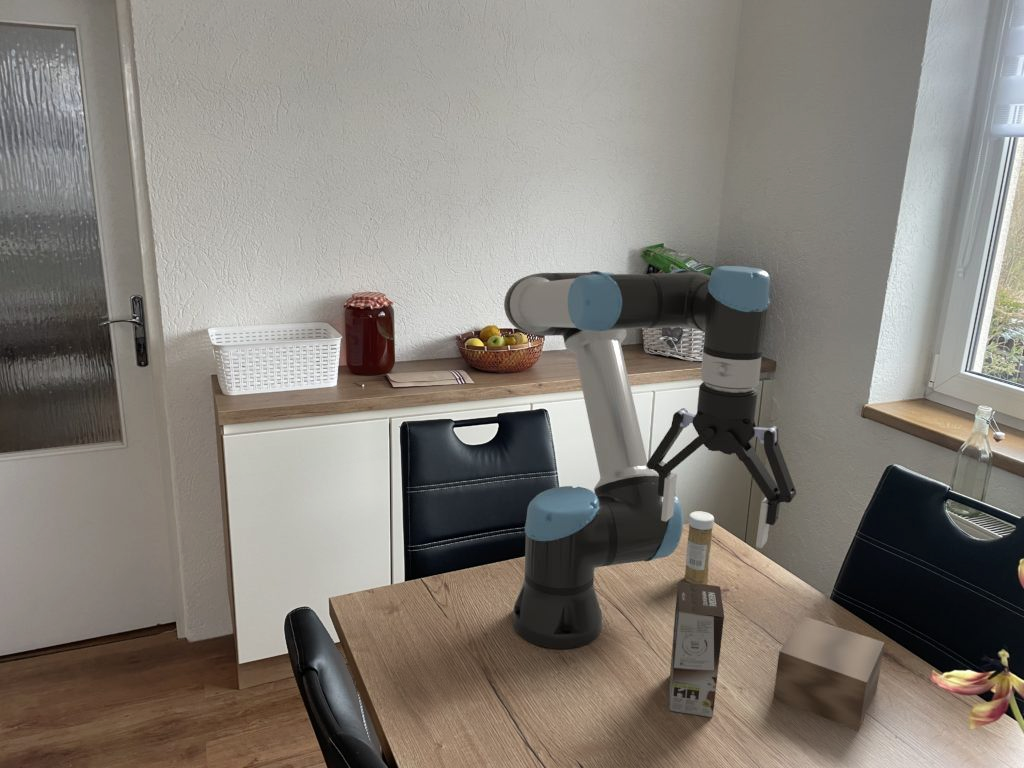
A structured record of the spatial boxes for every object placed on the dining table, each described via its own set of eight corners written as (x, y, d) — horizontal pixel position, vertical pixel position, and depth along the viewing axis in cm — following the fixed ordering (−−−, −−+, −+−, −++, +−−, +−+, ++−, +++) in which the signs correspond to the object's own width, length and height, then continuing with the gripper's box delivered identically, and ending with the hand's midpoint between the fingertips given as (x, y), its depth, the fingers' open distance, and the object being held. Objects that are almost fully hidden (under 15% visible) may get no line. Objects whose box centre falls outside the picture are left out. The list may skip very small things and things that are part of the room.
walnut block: (773, 698, 117) (779, 651, 115) (796, 660, 126) (802, 615, 124) (858, 732, 110) (866, 682, 108) (876, 688, 119) (884, 642, 117)
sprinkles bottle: (712, 580, 150) (719, 515, 146) (699, 589, 147) (705, 522, 143) (692, 572, 153) (698, 508, 150) (678, 579, 150) (684, 514, 146)
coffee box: (714, 718, 112) (725, 617, 107) (668, 711, 113) (677, 611, 109) (711, 679, 120) (721, 585, 116) (669, 673, 122) (677, 579, 117)
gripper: (630, 374, 108) (620, 516, 114) (820, 409, 95) (797, 567, 101) (652, 364, 114) (641, 499, 120) (833, 395, 101) (811, 544, 107)
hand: (712, 530), depth 110 cm, fingers open, 13 cm apart
